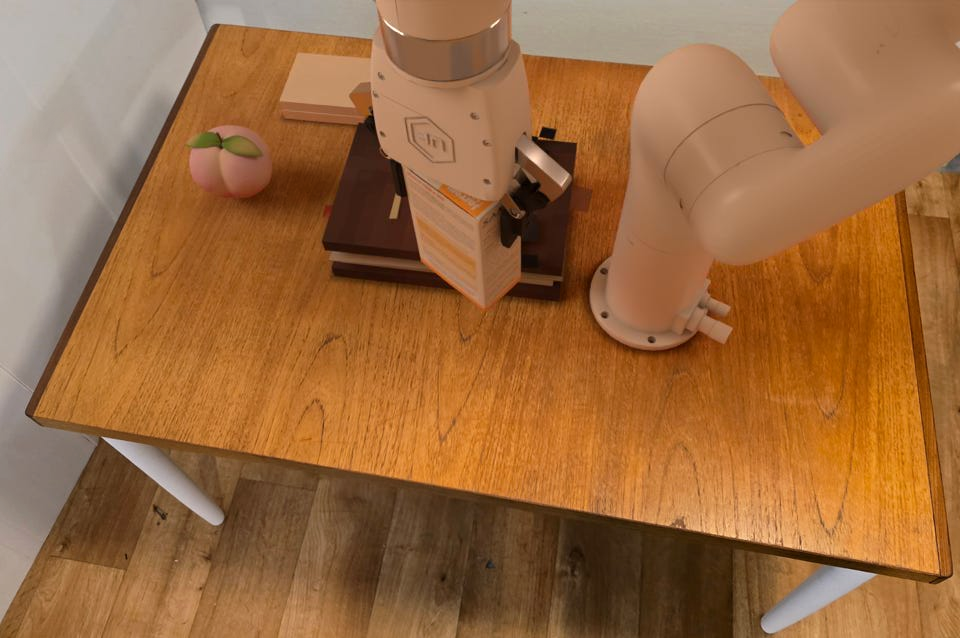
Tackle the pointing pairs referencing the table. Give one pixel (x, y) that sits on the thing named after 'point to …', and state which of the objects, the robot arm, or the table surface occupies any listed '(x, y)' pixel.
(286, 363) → the table surface
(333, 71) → the thin cream books
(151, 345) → the table surface
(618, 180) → the table surface
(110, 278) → the table surface
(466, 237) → the supplement box
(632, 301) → the robot arm
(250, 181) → the decorative fruit
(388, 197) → the decorative book
